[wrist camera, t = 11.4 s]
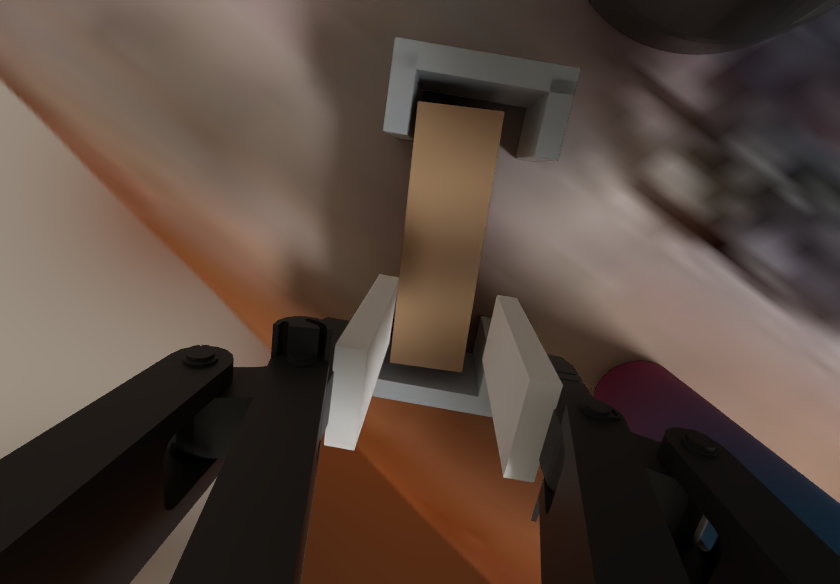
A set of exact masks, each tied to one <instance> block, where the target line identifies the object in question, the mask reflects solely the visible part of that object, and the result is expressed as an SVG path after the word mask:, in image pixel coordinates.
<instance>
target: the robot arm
mask: <svg viewBox="0 0 840 584" xmlns="http://www.w3.org/2000/svg"><path fill="white" fill-rule="evenodd" d="M589 1H590V3H591V4H592V5H593V7H594V8H595V9H596V10H597V11H598V12H599V13H600V14H601V15H602V16H603V17H604V18H605V19H606V20H607V21H608V22H609V23H610V24H612V25H613V26H614V27H616V28H617V29H618V30H619V31H621V32H623V33H624V34H626V35H627V36H629V37H631V38H633V39H634V40H636V41H638V42H640V43H643V44H645V45H648V46H650V47H653V48H657V49H660V50H664V51H668V52H673V53H681V54H696V55H699V54H714V53H722V52H727V51H733V50H737V49H740V48H744V47H748V46H750V45H753V44H756V43H759V42H762V41H764V40H767V39H769V38H772V37H774V36H777V35H779V34H782V33H784V32H787V31H789V30H791V29H794V28H796V27H798V26H801V25H803V24H805V23H807V22H809V21H811V20H813V19H815V18H817V17H819V16H820V15H822V14H824V13H825V12H827V11H829V10H830V9H832V8H834V7H835V6H837V5H839V4H840V0H589ZM398 282H399V277H394V276H388V275H382V274H379V276H378V277H377V279H376V280H375V282H374V284H373V285H372V287H371V288H370V290H369V292H368V293H367V295H366V296H365V298H364V300H363V301H362V303H361V304H360V306H359V308H358V309H357V311H356V312H355V314H354V316H353V317H352V319H351V320H350V321H346V320H340V319H335V318H329V317H328V318H325V319H323V320H320V319H318V318H312V317H305V316H294V317H286V318H283V319H280V320H278V321H276V322H275V323H274V324H273V336H272V352H271V359H270V361H269V363H268V365H267V366H264V367H233V355H232V354H231V353H230V352H229V351H228V350H225V349H222V348H219V347H213V346H209V345H202V346H200V345H196V346H192V347H189V348H184V349H180V350H178V351H176V352H174V353H171V354H170V355H168V356H167V357H165V358H164V359H162V360H160V361H159V362H157V363H155V364H154V365H152V366H150V367H149V368H147V369H146V370H144V371H142V372H141V373H139V374H138V375H136V376H134V377H133V378H132V379H129V380H128V381H126V382H125V383H123V384H121V385H120V386H118V387H117V388H115V389H113V390H112V391H110V392H109V393H107V394H105V395H104V396H102V397H100V398H99V399H97V400H96V401H94V402H92V403H91V404H89V405H88V406H86V407H84V408H83V409H81V410H80V411H78V412H76V413H75V414H73V415H71V416H70V417H68V418H66V419H65V420H63V421H62V422H60V423H58V424H57V425H55V426H54V427H52V428H50V429H49V430H47V431H46V432H44V433H42V434H41V435H39V436H37V437H36V438H34V439H33V440H31V441H29V442H28V443H26V444H24V445H23V446H21V447H20V448H18V449H16V450H15V451H13V452H12V453H10V454H8V455H7V456H5V457H3V458H2V459H0V584H130V582H131V581H132V580H133V579H134V577H135V576H136V575H137V574H138V573H139V571H140V570H141V569H142V568H143V567H144V565H145V564H146V563H147V562H148V560H149V559H150V558H151V557H152V555H153V554H154V553H155V552H156V551H157V549H158V548H159V547H160V546H161V544H162V543H163V542H164V541H165V540H166V538H167V537H168V536H169V535H170V533H171V532H172V531H173V530H174V529H175V528H176V526H177V525H178V524H179V523H180V521H181V520H182V519H183V518H184V516H185V515H186V514H187V513H188V512H189V510H190V509H191V508H192V507H193V505H194V504H195V503H196V502H197V501H198V499H199V498H200V497H201V496H202V495H203V493H204V492H205V491H206V490H207V488H208V487H209V486H210V485H211V483H212V482H213V481H214V480H215V479H216V477H217V476H218V477H217V479H216V481H215V483H214V486H213V488H212V490H211V492H210V494H209V497H208V499H207V501H206V503H205V506H204V508H203V510H202V512H201V515H200V517H199V519H198V521H197V523H196V525H195V528H194V530H193V532H192V534H191V537H190V539H189V541H188V543H187V546H186V548H185V550H184V552H183V555H182V557H181V559H180V561H179V563H178V566H177V568H176V570H175V572H174V574H173V577H172V579H171V581H170V583H169V584H300V582H301V575H302V568H303V561H304V554H305V547H306V541H307V534H308V527H309V521H310V513H311V507H312V500H313V493H314V487H315V480H316V473H317V466H318V459H319V451H320V442H321V438H322V436H323V433H324V431H325V429H326V431H325V440H324V445H327V446H332V447H338V448H343V449H349V450H354V449H355V446H356V443H357V440H358V437H359V434H360V431H361V428H362V425H363V422H364V419H365V416H366V412H367V409H368V406H369V403H370V400H371V397H372V394H373V391H374V388H375V385H376V382H377V379H378V376H379V373H380V370H381V367H382V363H383V360H384V357H385V354H386V351H387V348H388V345H389V341H390V334H391V328H392V321H393V315H394V308H395V302H396V295H397V289H398ZM482 361H483V367H484V372H485V378H486V383H487V389H488V394H489V400H490V405H491V411H492V417H493V422H494V428H495V433H496V439H497V444H498V450H499V455H500V461H501V466H502V472H503V477H505V478H510V479H516V480H521V481H527V482H532V483H534V481H535V478H536V474H537V471H538V468H539V464H540V465H541V468H542V471H543V474H544V480H543V483H542V486H541V489H540V493H539V496H538V499H537V503H536V506H535V509H534V512H533V516H532V519H531V520H532V521H535V522H536V520H537V517H538V515H540V551H541V584H840V557H839V556H838V555H837V554H836V553H835V552H834V551H833V550H832V549H831V548H830V547H829V546H828V545H827V544H826V543H825V542H824V541H823V540H822V539H820V538H819V537H818V536H817V535H816V534H815V533H814V532H813V531H812V530H811V529H810V528H809V527H808V526H807V525H806V524H805V523H804V522H803V521H802V520H801V519H800V518H798V517H797V516H796V515H795V514H794V513H793V512H792V511H791V510H790V509H789V508H788V507H787V506H786V505H785V504H784V503H783V502H782V501H781V500H780V499H779V498H777V497H776V496H775V495H774V494H773V493H772V492H771V491H770V490H769V489H768V488H767V487H766V486H765V485H764V484H763V483H762V482H761V481H760V480H759V479H758V478H756V477H755V476H754V475H753V474H752V473H751V472H750V471H749V470H748V469H747V468H746V467H745V466H744V465H743V464H742V463H741V462H740V461H739V460H738V459H737V458H735V457H734V456H733V455H732V454H731V453H730V452H729V451H728V450H727V449H726V448H724V447H723V446H722V445H720V444H719V443H718V442H716V441H714V440H712V439H711V438H709V436H707V435H705V434H703V433H701V432H700V433H699V432H698V431H695V430H692V429H690V430H689V429H685V428H680V427H671V428H668V429H666V430H665V432H664V435H663V438H662V440H661V442H658V441H655V440H652V439H650V438H647V437H644V436H641V435H638V434H635V433H633V432H630V429H629V427H628V424H627V421H626V419H625V418H624V417H623V415H622V414H621V413H620V412H619V411H618V410H616V409H615V408H614V407H612V406H610V405H608V404H606V403H604V402H602V401H599V400H596V399H594V398H593V397H592V395H591V394H590V392H589V391H588V389H587V387H586V386H585V384H583V381H582V379H581V378H580V376H578V373H577V371H576V370H575V368H574V367H573V366H572V365H571V364H570V363H569V362H567V361H566V360H565V359H563V358H562V357H558V356H552V355H547V354H546V352H545V350H544V348H543V346H542V344H541V343H540V341H539V339H538V337H537V335H536V333H535V331H534V329H533V327H532V325H531V324H530V322H529V320H528V318H527V316H526V314H525V312H524V310H523V308H522V307H521V305H520V303H519V301H518V299H517V298H514V297H508V296H502V295H497V297H496V302H495V306H494V310H493V315H492V319H491V323H490V328H489V332H488V337H487V341H486V345H485V350H484V354H483V358H482ZM708 521H709V522H710V523H711V525H712V526H713V527H714V529H715V531H716V532H717V534H718V537H717V539H716V541H715V543H714V545H713V547H712V548H711V550H709V549H708V548H707V547H706V545H705V544H704V543H703V541H702V540H701V539H700V538H701V536H702V534H703V532H704V530H705V528H706V525H707V523H708Z"/></svg>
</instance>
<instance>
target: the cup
mask: <svg viewBox="0 0 840 584" xmlns="http://www.w3.org/2000/svg"><path fill="white" fill-rule="evenodd" d="M594 399H596V400H599V401H602V402H604V403H606V404H608V405H610V406H612V407H614V408H615V409H616V410H618V411H619V412H620V413H621V414H622V415H623V417H624V418H625V419H626V421H627V424H628V427H629V429H630V432H633V433H635V434H638V435H641V436H644V437H647V438H650V439H652V440H655V441H658V442H661V440H662V438H663V435H664V432H665V430H666V429H668V428H671V427H680V428H685V429H689V430H690V429H692V430H695V431H698V432H699V433H700V432H701V433H703V434H705V435H707V436H709V438H711V439H712V440H714V441H716V442H718V443H719V444H720V445H722V446H723V447H724V448H726V449H727V450H728V451H729V452H730V453H731V454H732V455H733V456H734V457H735V458H737V459H738V460H739V461H740V462H741V463H742V464H743V465H744V466H745V467H746V468H747V469H748V470H749V471H750V472H751V473H752V474H753V475H754V476H755V477H756V478H758V479H759V480H760V481H761V482H762V483H763V484H764V485H765V486H766V487H767V488H768V489H769V490H770V491H771V492H772V493H773V494H774V495H775V496H776V497H777V498H779V499H780V500H781V501H782V502H783V503H784V504H785V505H786V506H787V507H788V508H789V509H790V510H791V511H792V512H793V513H794V514H795V515H796V516H797V517H798V518H800V519H801V520H802V521H803V522H804V523H805V524H806V525H807V526H808V527H809V528H810V529H811V530H812V531H813V532H814V533H815V534H816V535H817V536H818V537H819V538H820V539H822V540H823V541H824V542H825V543H826V544H827V545H828V546H829V547H830V548H831V549H832V550H833V551H834V552H835V553H836V554H837V555H838V556H839V557H840V503H838V502H837V501H836V500H835V499H833V498H832V497H831V496H829V495H828V494H827V493H825V492H824V491H823V490H822V489H820V488H819V487H818V486H816V485H815V484H814V483H813V482H811V481H810V480H809V479H807V478H806V477H805V476H804V475H802V474H801V473H800V472H798V471H797V470H796V469H794V468H793V467H792V466H791V465H789V464H788V463H787V462H785V461H784V460H783V459H782V458H780V457H779V456H778V455H776V454H775V453H774V452H772V451H771V450H770V449H769V448H767V447H766V446H765V445H763V444H762V443H761V442H760V441H758V440H757V439H756V438H754V437H753V436H752V435H751V434H749V433H748V432H747V431H745V430H744V429H743V428H741V427H740V426H739V425H738V424H736V423H735V422H734V421H732V420H731V419H730V418H729V417H727V416H726V415H725V414H723V413H722V412H721V411H720V410H718V409H717V408H716V407H714V406H713V405H712V404H710V403H709V402H708V401H707V400H705V399H704V398H703V397H701V396H700V395H699V394H698V393H696V392H695V391H694V390H692V389H691V388H690V387H688V386H687V385H686V384H685V383H683V382H682V381H681V380H679V379H678V378H677V377H676V376H674V375H673V374H672V373H670V372H669V371H668V370H667V369H665V368H664V367H662V366H660V365H658V364H655V363H652V362H647V361H633V362H628V363H624V364H622V365H619V366H617V367H615V368H614V369H612V370H610V371H609V372H608V373H607V374H606V375H605V376H604V377H603V378H602V379H601V380H600V382H599V383H598V385H597V387H596V389H595V393H594ZM717 537H718V534H717V532H716V531H715V529H714V527H713V526H712V525H711V523H710V522H709V521H708V523H707V525H706V528H705V530H704V532H703V534H702V536H701V538H700V539H701V540H702V541H703V543H704V544H705V545H706V547H707V548H708V549H709V550H711V548H712V547H713V545H714V543H715V541H716V539H717Z"/></svg>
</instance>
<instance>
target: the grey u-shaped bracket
mask: <svg viewBox="0 0 840 584" xmlns="http://www.w3.org/2000/svg"><path fill="white" fill-rule="evenodd" d="M580 70H581V68H577V67H571V66H565V65H559V64H553V63H547V62H541V61H535V60H529V59H523V58H517V57H511V56H506V55H500V54H494V53H488V52H482V51H476V50H470V49H464V48H458V47H452V46H446V45H440V44H434V43H428V42H422V41H416V40H410V39H404V38H399V37H395V41H394V49H393V57H392V64H391V72H390V80H389V88H388V95H387V103H386V111H385V119H384V126H383V131H384V132H386V133H388V134H390V135H392V136H394V137H396V138H399V139H405V140H411V141H414V134H415V124H416V115H417V106H418V101H421V99H422V93H423V90H424V91H430V92H436V93H442V94H448V95H454V96H460V97H465V98H471V99H477V100H483V101H489V102H495V103H501V104H507V105H513V106H519V107H524V108H527V109H526V114H525V118H524V123H523V127H522V132H521V136H520V141H519V146H518V150H517V155H516V159H522V160H528V161H534V162H537V161H558V159H559V155H560V151H561V147H562V143H563V139H564V135H565V131H566V127H567V123H568V119H569V115H570V111H571V107H572V103H573V99H574V95H575V91H576V87H577V83H578V79H579V74H580Z"/></svg>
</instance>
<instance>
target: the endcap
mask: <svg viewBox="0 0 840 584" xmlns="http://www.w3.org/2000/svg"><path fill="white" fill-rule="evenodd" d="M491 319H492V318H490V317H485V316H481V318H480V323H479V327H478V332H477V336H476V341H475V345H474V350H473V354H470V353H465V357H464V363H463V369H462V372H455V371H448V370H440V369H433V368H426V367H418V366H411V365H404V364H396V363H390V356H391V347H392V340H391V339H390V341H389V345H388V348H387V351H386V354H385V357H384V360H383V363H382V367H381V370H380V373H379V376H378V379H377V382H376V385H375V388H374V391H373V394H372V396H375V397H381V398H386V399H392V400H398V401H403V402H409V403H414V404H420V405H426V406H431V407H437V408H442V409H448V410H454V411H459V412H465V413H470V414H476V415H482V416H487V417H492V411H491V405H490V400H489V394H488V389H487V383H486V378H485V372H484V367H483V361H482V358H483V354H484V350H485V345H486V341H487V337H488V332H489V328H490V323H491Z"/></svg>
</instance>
